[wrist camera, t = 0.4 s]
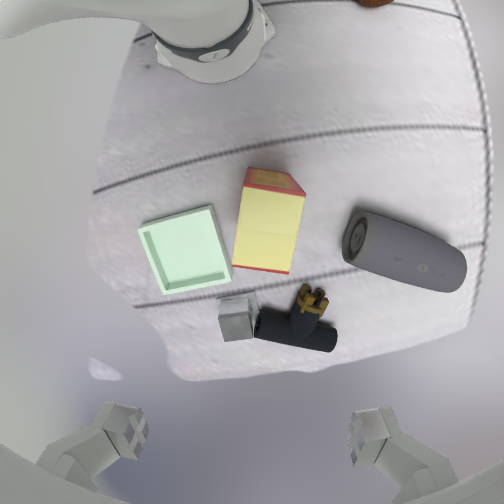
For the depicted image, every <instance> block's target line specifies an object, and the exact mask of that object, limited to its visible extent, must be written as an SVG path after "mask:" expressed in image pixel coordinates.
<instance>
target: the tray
mask: <svg viewBox="0 0 504 504" xmlns="http://www.w3.org/2000/svg"><path fill="white" fill-rule="evenodd" d="M137 230H138V233H139V235H140V238H141V241H142V243H143V246H144V249H145V251H146V254H147V256H148V259H149V262H150V264H151V267H152V269H153V272H154V274H155V276H156V279H157V281H158V284H159V286H160V288H161V291H162V293H163V295H167V294H172V293H177V292H182V291H187V290H192V289H197V288H202V287H207V286H212V285H217V284H222V283H227V282H232V276H233V272H232V269H231V266H230V262H229V259H228V256H227V252H226V249H225V246H224V242H223V239H222V236H221V232H220V229H219V226H218V222H217V219H216V216H215V212H214V209H213V205H208V206H204V207H201V208H197V209H193V210H190V211H186V212H182V213H179V214H175V215H172V216H168V217H165V218H161V219H158V220H154V221H151V222H147V223H144V224H143V225H141V226H140V227H139V228H138V229H137Z"/></svg>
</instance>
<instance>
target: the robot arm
mask: <svg viewBox="0 0 504 504" xmlns="http://www.w3.org/2000/svg"><path fill="white" fill-rule="evenodd" d="M87 17H106V18H120V19H129V20H134V21H138V22H140V23H142V24H143V25H145V26H146V27H148V28H149V29H151V30H152V33H153V36H154V37H155V38H156V39H157V44H156V45H155V48H156V50H157V60H158V62H159V64H160V65H162V66H164V67H168V68H174V69H176V70H178V71H180V72H181V73H182V74H184V75H185V76H187V77H188V78H190V79H192V80H195V81H198V82H202V83H221V82H226V81H230V80H232V79H235V78H237V77H239V76H241V75H242V74H244V73H245V72H247V71H248V70H249V69H250V68H251V67H252V66H253V65H254V64H255V62H256V61H257V59H258V57H259V55H260V53H261V51H262V48H263V46H264V45H265V44H266V43H267V42H268V41H269V40H271V39H272V38H273V37H274V35H275V33H276V31H275V27H274V25H273V24H272V22H271V20H270V19H269V17H268V16H267V14H266V12H265V11H264V9H263V8H262V6H261V5H260V3H259V2H258V0H0V39H5V38H12V37H16V36H18V35H21V34H23V33H25V32H28V31H30V30H32V29H35V28H38V27H40V26H43V25H47V24H50V23H54V22H58V21H62V20H68V19H75V18H87ZM265 24H266V25H267V26H265ZM143 414H144V413H143V411H142V409H141V408H139V407H133V406H129V405H125V404H121V403H115V402H112V401H107V402H105V403H104V405H103V407H102V408H101V410H100V411H99V413H98V415H97V416H96V418H95V420H94V421H93V423H92V424H91V426H86V427H84V428H82V429H80V430H78V431H76V432H74V433H72V434H70V435H68V436H66V437H64V438H62V439H60V440H57V441H56V442H54V443H51V444H49V445H48V446H47V447H46V449H45V450H44V452H43V453H42V455H41V457H40V458H39V460H38V461H37V463H36V464H34V463H32V462H30V461H28V460H27V459H25V458H23V457H21V456H20V455H18V454H17V453H15V452H13V451H12V450H10V449H8V448H7V447H6V446H4V445H3V444H1V443H0V504H129V503H126V502H123V501H120V500H116V499H113V498H110V497H107V496H105V495H101V494H99V493H98V490H99V488H98V486H97V485H96V484H95V482H94V481H93V480H92V478H93V477H94V476H95V475H97V474H98V473H100V472H101V471H102V470H104V469H105V468H107V467H108V466H109V465H111V464H112V463H113V462H114V461H116V460H117V459H118V458H120V456H122V457H127V458H131V459H136V460H139V457H140V455H141V452H142V450H143V447H142V445H141V444H142V443H143V442H145V441H146V440H147V437H148V433H149V427H148V423H147V421H146V420H145V419H144V418H143V417H142V416H143ZM351 421H352V423H351V424H349V426H348V429H347V441H348V446H349V447H350V448H352V452H351V458H352V463H353V467H359V466H366V465H372V464H374V465H375V466H376V467H377V468H378V469H379V470H380V471H381V472H382V473H384V475H386V476H387V477H388V478H389V479H390V480H391V481H392V482H393V483H395V484H396V485H397V486H398V487H399V488H400V489H401V490H400V492H399V493H398V494H397V495H396V496H395V498H394V499H393V500H392V503H393V504H504V458H503V459H502V460H500V461H498V462H497V463H495V464H493V465H491V466H490V467H488V468H486V469H484V470H482V471H480V472H478V473H476V474H474V475H473V476H470V477H468V478H466V479H464V480H462V481H460V482H459V481H458V479H457V477H456V474H455V472H454V470H453V468H452V466H451V464H450V462H449V459H447V458H446V457H444V456H442V455H441V454H439V453H437V452H435V451H434V450H432V449H431V448H429V447H427V446H426V445H424V444H422V443H420V442H419V441H417V440H416V439H414V438H413V437H411V436H409V435H408V434H403V432H402V430H401V427H400V425H399V423H398V420H397V418H396V416H395V414H394V411H393V409H392V407H391V406H386V407H380V408H373V409H368V410H361V411H355V412H353V413H352V416H351Z"/></svg>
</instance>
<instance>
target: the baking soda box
mask: <svg viewBox="0 0 504 504" xmlns="http://www.w3.org/2000/svg"><path fill="white" fill-rule="evenodd" d="M305 196H306V193H305V192H304V190H303V189H302V188H301V187H300V186H299V184H298V183H297V182H296V181H295V180H294V179H293V178H292V176H291V175H290V174H285V173H279V172H274V171H267V170H261V169H255V168H248V170H247V173H246V177H245V180H244V184H243V191H242V198H241V204H240V211H239V218H238V225H237V232H236V239H235V246H234V253H233V260H232V267H239V268H246V269H253V270H260V271H267V272H274V273H281V274H288V275H289V270H290V266H291V262H292V257H293V253H294V248H295V244H296V239H297V235H298V230H299V225H300V220H301V216H302V211H303V206H304V201H305Z"/></svg>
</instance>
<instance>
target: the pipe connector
mask: <svg viewBox="0 0 504 504" xmlns="http://www.w3.org/2000/svg"><path fill="white" fill-rule="evenodd" d="M311 291H312V289H311V287H310V286H306V285H303V287H302V289H301V292H300V294H299V295H298V298H297V302H296V304H295V306H294V308H293V310H292V312H291V314H290V316H289V317H284V316H280V315H276V314H272V313H268V312H264V311H260V312H259V314H258V316H257V319H256V322H255V326H254V338H259V339H263V340H268V341H272V342H277V343H281V344H286V345H291V346H296V347H301V348H306V349H312V350H317V351H323V352H331V351H332V350H333V349H334V348H335V346H336V343H337V337H338V334H337V330H336V329H335V328H333V327H328V326H324V325H319V324H316V323H317V322H318V320H319V318H320V317H322V315H323V313H324V311H325V309H326V307H327V305H328V304H329V301H328V299H327V298H325V297H324V296H325V292H324V290H321V289H317V290H316V292H315V294H312V293H311Z"/></svg>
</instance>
